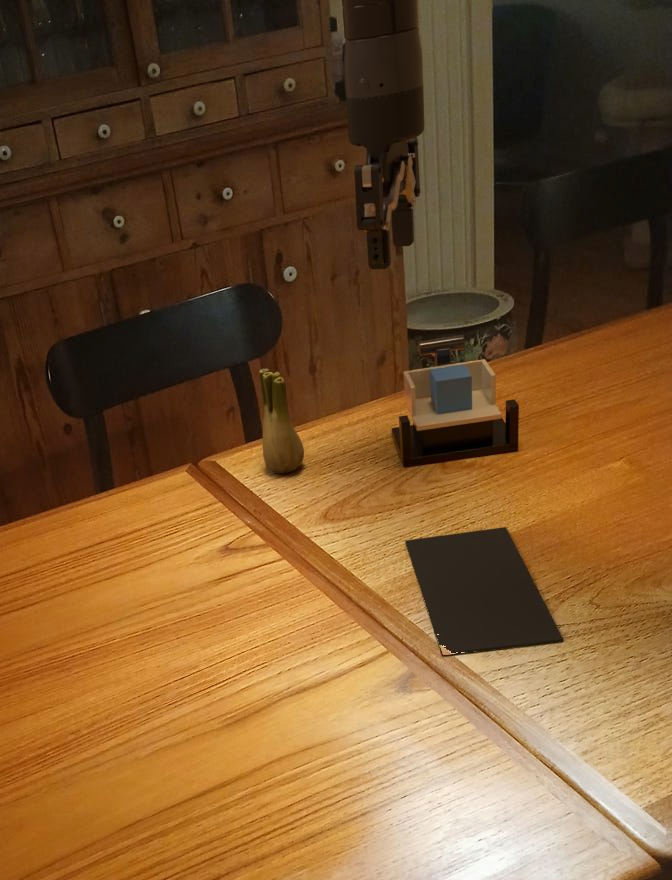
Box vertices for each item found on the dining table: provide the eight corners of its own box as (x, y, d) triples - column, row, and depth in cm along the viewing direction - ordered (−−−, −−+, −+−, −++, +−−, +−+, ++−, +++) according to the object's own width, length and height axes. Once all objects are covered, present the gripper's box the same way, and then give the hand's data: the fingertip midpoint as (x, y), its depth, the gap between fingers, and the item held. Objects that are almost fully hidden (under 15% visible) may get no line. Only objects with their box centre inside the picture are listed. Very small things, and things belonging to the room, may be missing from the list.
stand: (498, 419, 120) (499, 376, 117) (518, 451, 112) (519, 405, 109) (391, 435, 122) (389, 392, 119) (403, 467, 114) (401, 422, 111)
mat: (505, 529, 99) (505, 526, 98) (563, 641, 82) (563, 638, 82) (405, 542, 100) (405, 540, 100) (442, 656, 83) (441, 653, 83)
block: (465, 396, 116) (464, 364, 114) (472, 409, 113) (472, 375, 111) (430, 402, 117) (429, 369, 114) (437, 414, 113) (436, 381, 111)
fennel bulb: (266, 460, 122) (253, 366, 115) (306, 455, 121) (295, 360, 114) (264, 480, 117) (250, 383, 111) (305, 476, 116) (294, 378, 110)
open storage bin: (480, 385, 120) (480, 330, 116) (501, 418, 111) (502, 360, 107) (402, 397, 121) (399, 343, 117) (416, 431, 112) (414, 373, 108)
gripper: (400, 94, 90) (407, 275, 99) (440, 70, 100) (444, 236, 109) (323, 104, 93) (336, 278, 102) (369, 79, 103) (378, 240, 112)
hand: (392, 256), depth 106 cm, fingers open, 8 cm apart
